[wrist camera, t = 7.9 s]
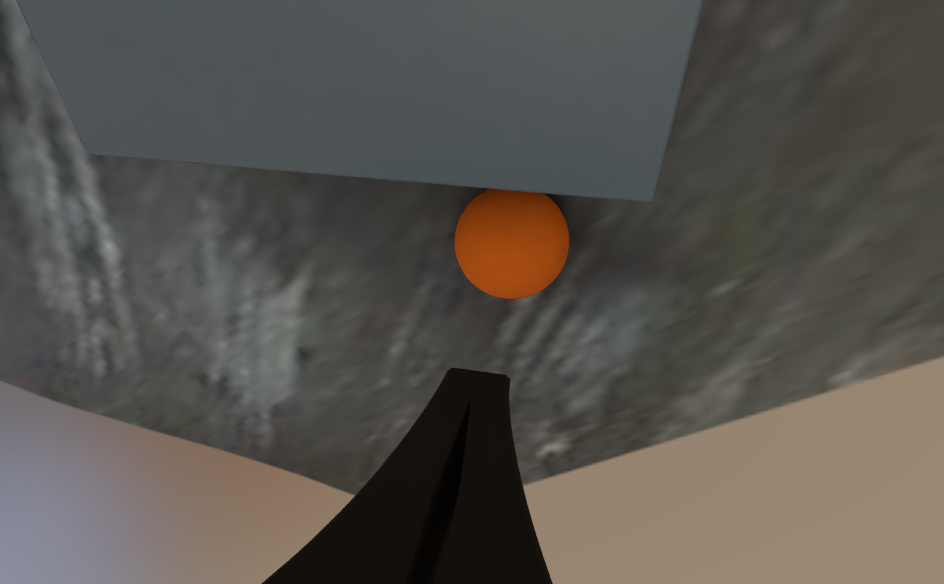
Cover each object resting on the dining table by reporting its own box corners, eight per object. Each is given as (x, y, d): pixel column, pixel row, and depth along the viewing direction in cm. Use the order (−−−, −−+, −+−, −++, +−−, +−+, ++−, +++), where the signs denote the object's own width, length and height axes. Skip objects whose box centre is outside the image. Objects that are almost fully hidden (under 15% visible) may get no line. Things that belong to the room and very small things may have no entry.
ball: (445, 214, 19) (419, 270, 16) (515, 143, 17) (501, 190, 14) (518, 277, 21) (507, 340, 17) (592, 217, 18) (595, 276, 15)
